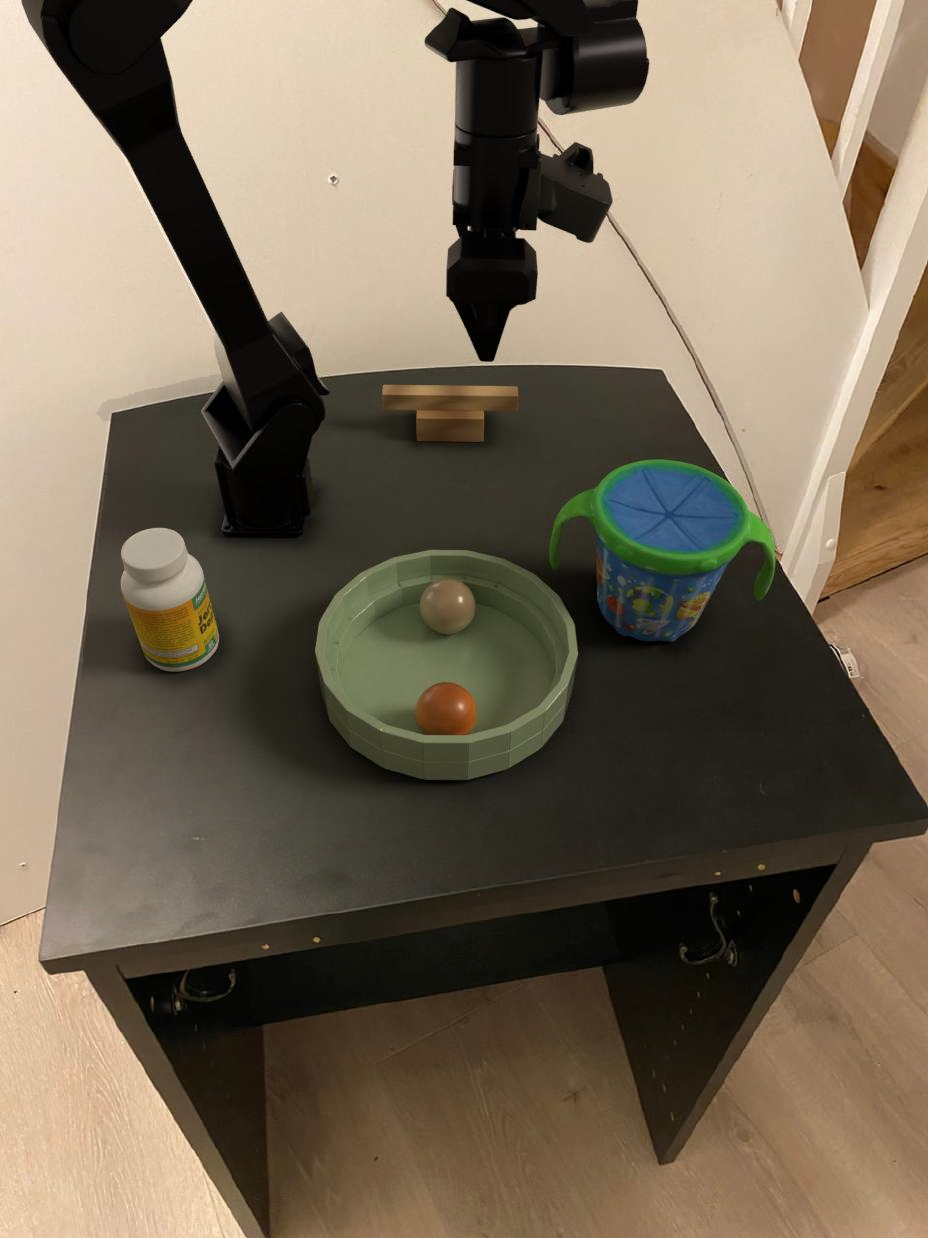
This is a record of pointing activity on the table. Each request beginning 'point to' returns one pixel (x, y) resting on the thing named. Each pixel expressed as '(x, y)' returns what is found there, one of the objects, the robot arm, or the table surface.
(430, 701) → the ball tangerine
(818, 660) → the table surface
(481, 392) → the wooden bar
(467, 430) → the block
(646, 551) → the snack cup
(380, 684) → the bowl
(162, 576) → the supplement bottle
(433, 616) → the ball taupe
